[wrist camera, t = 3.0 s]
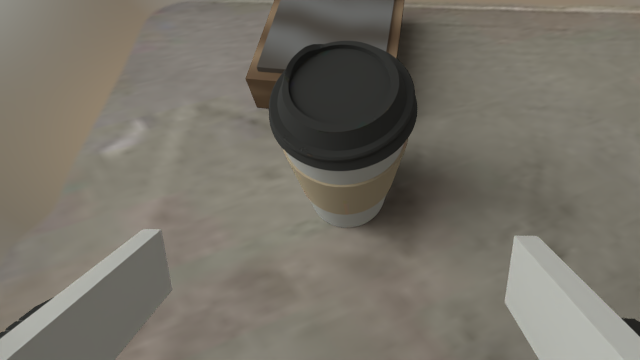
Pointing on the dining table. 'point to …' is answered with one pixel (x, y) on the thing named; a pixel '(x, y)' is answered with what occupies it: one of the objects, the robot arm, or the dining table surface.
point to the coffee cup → (344, 126)
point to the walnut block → (319, 34)
